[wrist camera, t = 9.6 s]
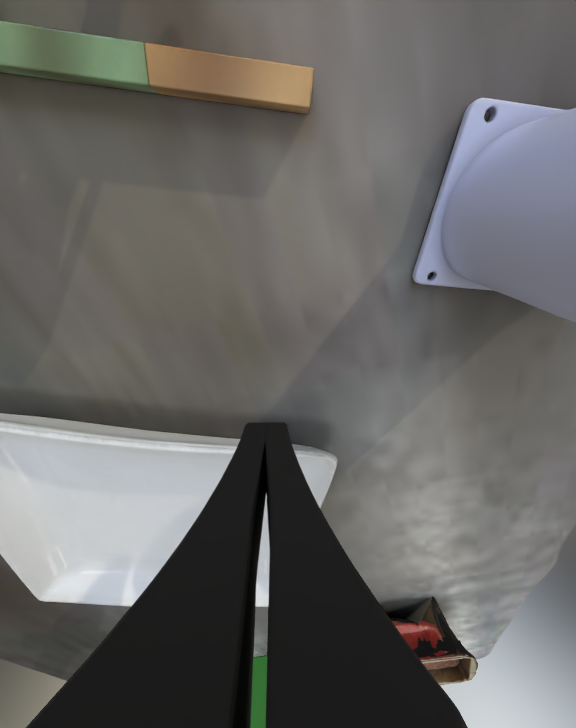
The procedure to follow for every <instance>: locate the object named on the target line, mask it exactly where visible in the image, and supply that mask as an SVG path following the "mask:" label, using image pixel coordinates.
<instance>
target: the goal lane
mask: <svg viewBox="0 0 576 728" xmlns="http://www.w3.org/2000/svg"><path fill="white" fill-rule="evenodd" d="M0 72H2V73H6V72H7V73H10V74H17V75H24V76H32V77H39V78H46V79H54V80H61V81H68V82H76V83H83V84H90V85H98V86H105V87H112V88H119V89H127V90H134V91H141V92H149V93H159V94H163V95H170V96H178V97H185V98H192V99H199V100H207V101H214V102H221V103H229V104H236V105H243V106H251V107H258V108H265V109H273V110H280V111H287V112H294V113H302V114H308V111H309V108H310V104H311V94H312V84H313V74H314V69H313V68H310V67H303V66H297V65H290V64H283V63H277V62H270V61H264V60H257V59H250V58H244V57H237V56H231V55H224V54H217V53H211V52H204V51H198V50H191V49H184V48H178V47H171V46H164V45H158V44H151V43H145V44H144V43H143V42H138V41H131V40H124V39H118V38H111V37H104V36H98V35H91V34H85V33H78V32H71V31H65V30H58V29H52V28H45V27H38V26H32V25H25V24H19V23H12V22H5V21H0Z"/></svg>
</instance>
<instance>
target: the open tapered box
mask: <svg viewBox="0 0 576 728" xmlns="http://www.w3.org/2000/svg"><path fill="white" fill-rule="evenodd" d="M390 620H391V621H392V622H393V624H394V625H395V627H396V628H397V629H398V631H399V632H400V633H401V635H402V636H403V638H404V639H405V640H406V642H407V643H408V644H409V646H410V647H411V648H412V650H413V651H414V652H415V654H416V655H417V656H418V658H419V659H420V660H421V662H422V663H423V664H424V666H425V667H426V668H427V670H428V671H429V672H430V673H431V675H432V676H433V677H434V679H435V680H436V681H437V682H438V684H439V685H444V684H451V683H460V682H464V681H469V680H472V678H473V677H474V675H475V674H476V670H477V667H478V663H477V661H476V659H475V657H474V656H473V655H472V654H471V653H469V652H468V651H467V650H466V649H465V648H464V647H463V646H462V644H461V642H460V641H458V639H457V638H456V636H455V635H454V633H453V632H452V630H451V629H450V627H449V626H448V624H447V621H446V619H445V617H444V615H443V613H442V611H441V609H440V607H439V605H438V603H437V601H436V599H435V598H434V597H432V600H431V602H430V605H429V607H428V610H427V611H426V613H425V615H424V616H423V618H422V620H421V622H420V623H419V624H417V623H415V622H412V621H408V620H404V619H400V618H390Z"/></svg>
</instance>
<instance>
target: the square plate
mask: <svg viewBox="0 0 576 728" xmlns="http://www.w3.org/2000/svg"><path fill="white" fill-rule="evenodd" d="M239 441H240V439H233V438H221V437H210V436H200V435H189V434H179V433H169V432H158V431H148V430H140V429H132V428H124V427H116V426H108V425H101V424H93V423H86V422H78V421H71V420H62V419H54V418H46V417H38V416H26V415H14V414H3V413H0V554H1V555H2V557H3V558H4V559H5V561H6V562H7V563H8V564H9V566H10V567H11V568H12V569H13V571H14V572H15V573H16V574H17V575H18V577H19V578H20V579H21V580H22V582H23V583H24V584H25V585H26V586H27V587H28V589H29V590H30V591H31V592H32V594H33V595H34V596H35V597H36V598H37V599H39V600H41V601H45V602H68V603H84V604H100V605H117V606H132V605H133V604H134V603H135V601H136V600H137V599H138V598H139V596H140V595H141V594H142V593H143V592H144V590H145V589H146V588H147V587H148V585H149V584H150V583H151V581H152V580H153V579H154V577H155V576H156V575H157V574H158V572H159V571H160V570H161V568H162V567H163V566H164V564H165V563H166V561H167V560H168V559H169V557H170V556H171V555H172V553H173V552H174V551H175V549H176V548H177V547H178V545H179V544H180V542H181V541H182V540H183V538H184V537H185V535H186V534H187V532H188V531H189V529H190V528H191V526H192V525H193V523H194V522H195V520H196V519H197V517H198V516H199V514H200V513H201V511H202V510H203V508H204V506H205V505H206V503H207V502H208V500H209V498H210V496H211V495H212V493H213V491H214V490H215V488H216V486H217V485H218V483H219V481H220V480H221V478H222V476H223V474H224V472H225V470H226V468H227V466H228V464H229V462H230V461H231V459H232V457H233V455H234V452H235V450H236V448H237V446H238V444H239ZM292 446H293V449H294V452H295V455H296V457H297V460H298V462H299V465H300V467H301V469H302V472H303V474H304V476H305V479H306V481H307V483H308V485H309V487H310V490H311V492H312V494H313V496H314V498H315V500H316V502H317V504H318V506H319V508H321V506H322V503H323V501H324V499H325V496H326V494H327V491H328V489H329V486H330V484H331V481H332V479H333V476H334V473H335V470H336V467H337V464H338V459H337V458H336V456H335V455H333V454H332V453H329V452H325V451H323V450H320V449H317V448H314V447H310V446H303V445H297V444H292ZM269 561H270V547H269V530H268V513H267V496H266V499H265V508H264V516H263V525H262V533H261V542H260V551H259V559H258V569H257V581H256V603H255V606H263V607H268V606H269Z"/></svg>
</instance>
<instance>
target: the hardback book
mask: <svg viewBox="0 0 576 728" xmlns="http://www.w3.org/2000/svg"><path fill="white" fill-rule="evenodd" d="M266 689H267V656H262V657H254V658H253V677H252V704H251V728H266Z"/></svg>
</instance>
